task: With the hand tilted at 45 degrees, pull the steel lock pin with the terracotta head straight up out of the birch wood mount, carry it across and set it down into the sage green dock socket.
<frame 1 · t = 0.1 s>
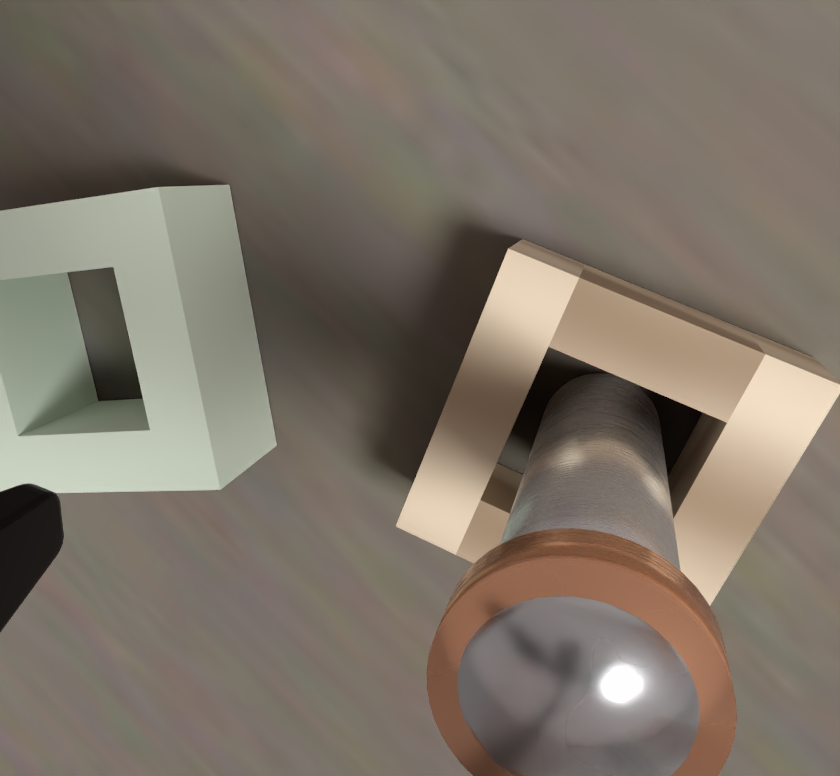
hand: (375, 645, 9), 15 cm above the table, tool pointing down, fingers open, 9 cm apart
dock socket: (141, 330, 27), on the table
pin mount: (599, 428, 23), on the table
lock pin: (591, 517, 17), in the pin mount
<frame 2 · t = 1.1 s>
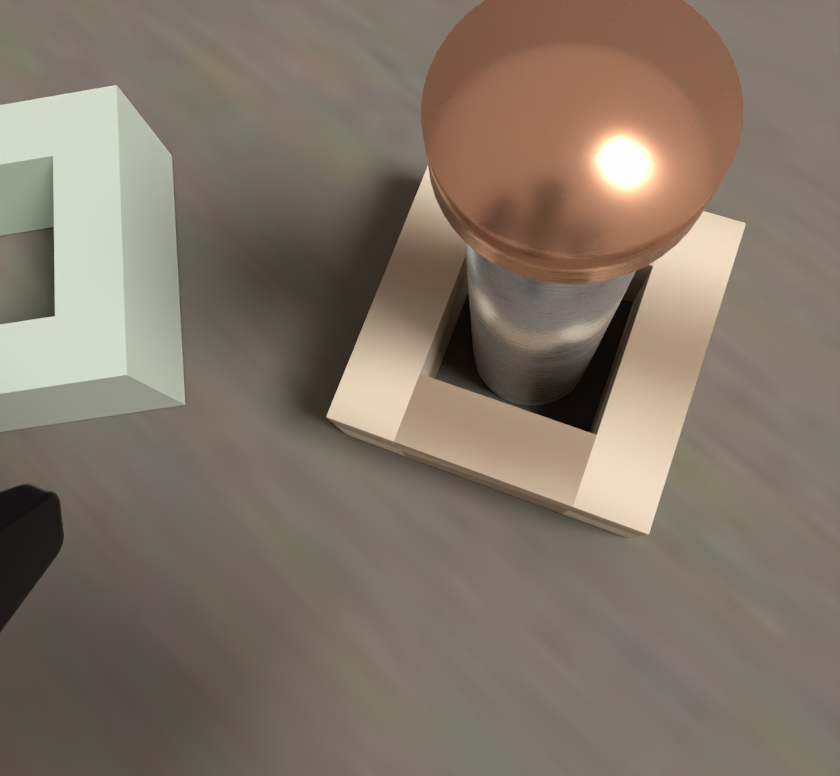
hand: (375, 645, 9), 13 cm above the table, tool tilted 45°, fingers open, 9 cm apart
dock socket: (49, 295, 25), on the table
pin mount: (530, 349, 23), on the table
lock pin: (546, 272, 17), in the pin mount
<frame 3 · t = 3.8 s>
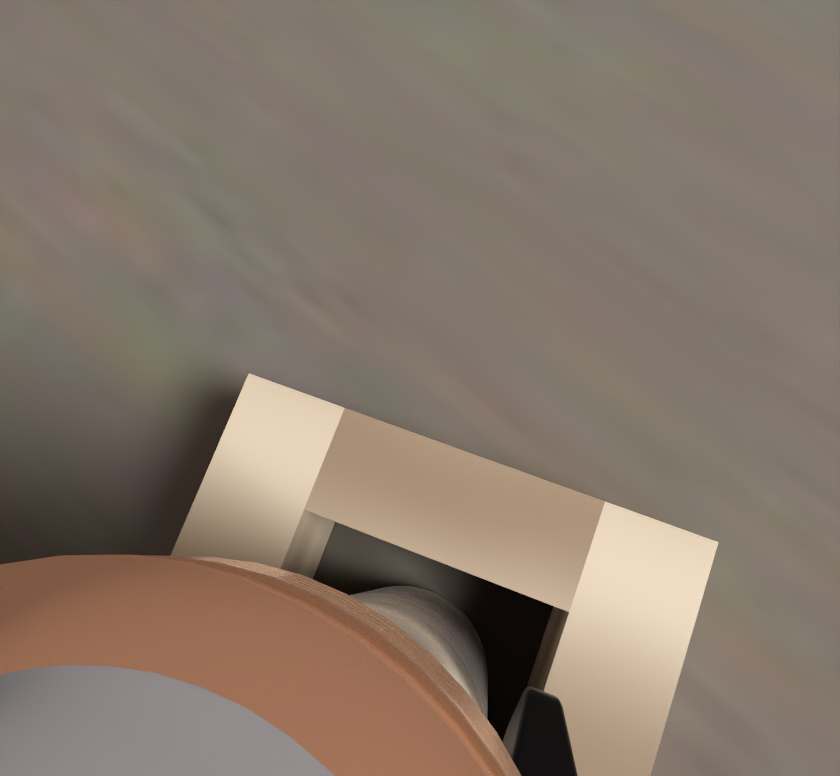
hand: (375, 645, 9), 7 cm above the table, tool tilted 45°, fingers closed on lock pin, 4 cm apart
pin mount: (401, 674, 16), on the table
lock pin: (342, 749, 9), in the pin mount, touching gripper
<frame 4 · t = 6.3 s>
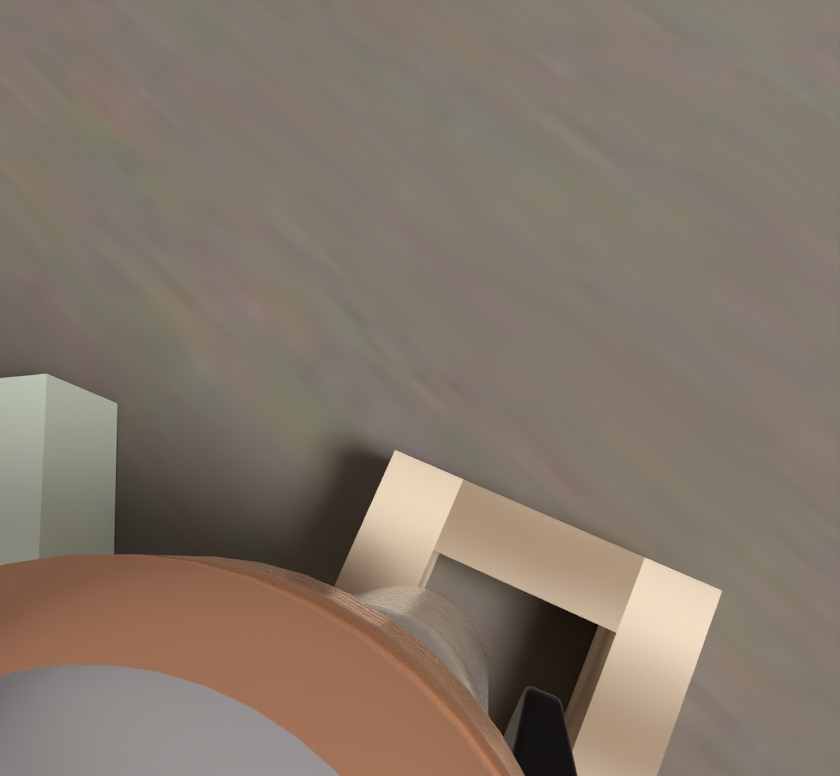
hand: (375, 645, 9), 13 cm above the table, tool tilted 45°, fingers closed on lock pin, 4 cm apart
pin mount: (485, 668, 22), on the table
lock pin: (343, 748, 9), point 13 cm above the table, touching gripper
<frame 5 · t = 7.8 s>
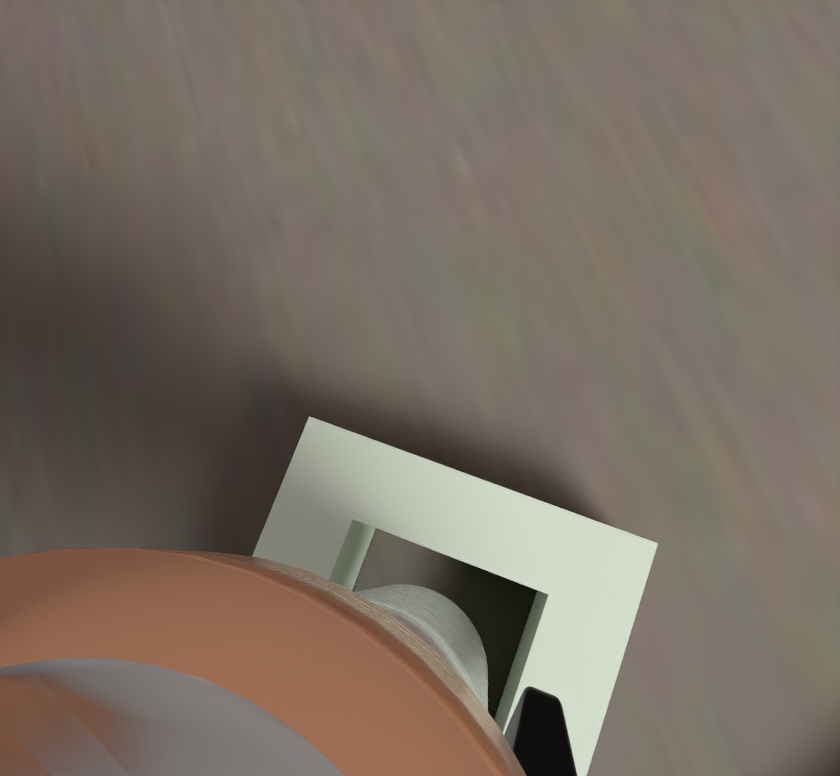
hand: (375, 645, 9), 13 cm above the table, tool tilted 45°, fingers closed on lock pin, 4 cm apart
dock socket: (425, 640, 21), on the table
lock pin: (343, 746, 9), point 12 cm above the table, touching gripper
when the fingers open (9 cm above the table, at t = 8.9 s): lock pin drops 2 cm, resting in dock socket.
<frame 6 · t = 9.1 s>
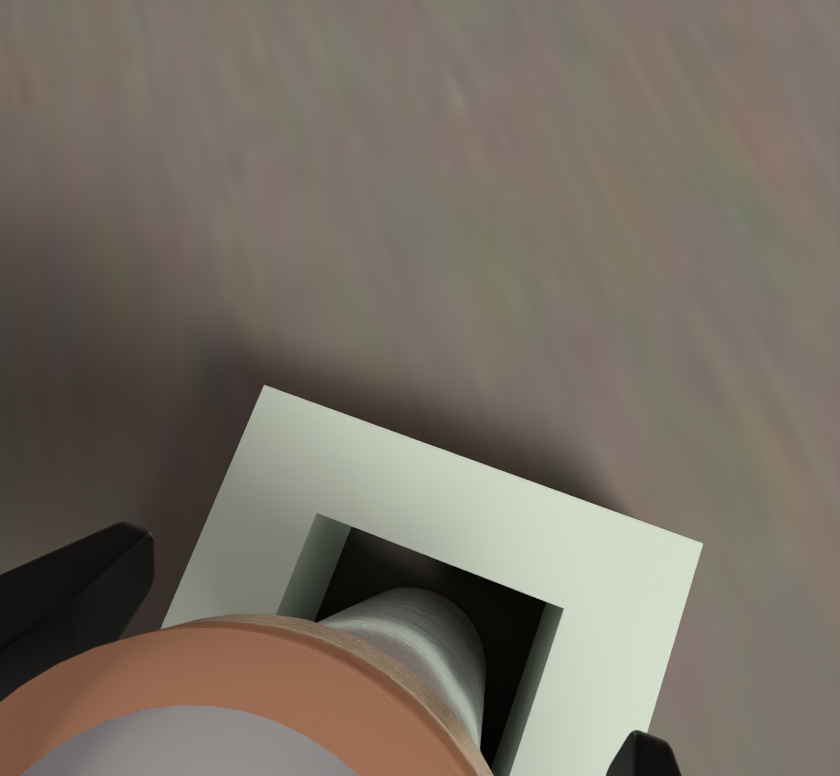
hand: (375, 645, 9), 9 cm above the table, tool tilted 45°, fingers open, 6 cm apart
dock socket: (411, 662, 18), on the table
lock pin: (359, 739, 11), in the dock socket
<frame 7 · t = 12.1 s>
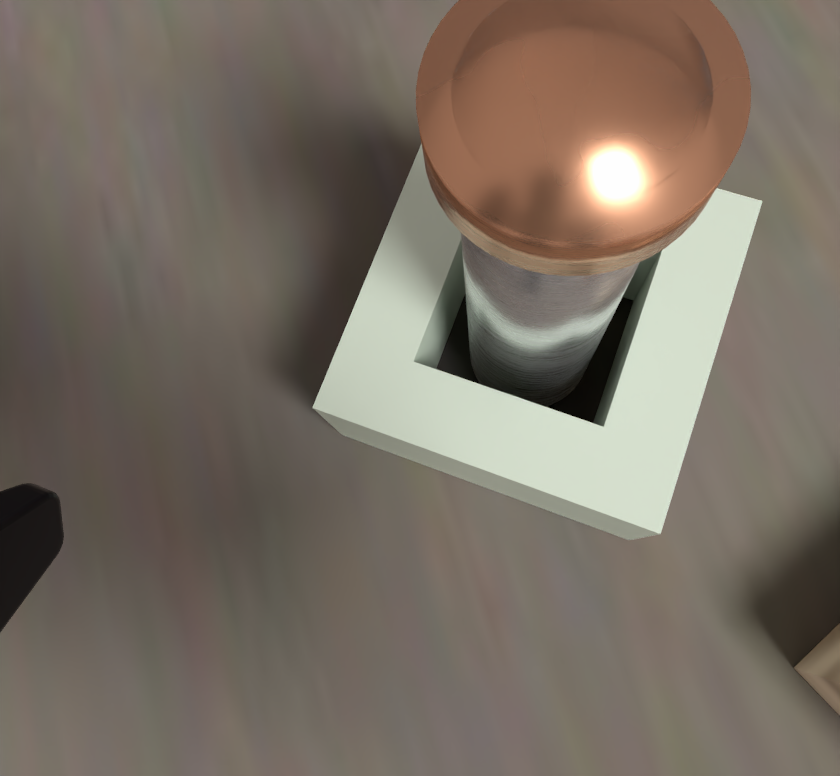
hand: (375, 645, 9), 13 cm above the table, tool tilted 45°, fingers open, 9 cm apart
dock socket: (530, 348, 23), on the table
lock pin: (544, 269, 17), in the dock socket
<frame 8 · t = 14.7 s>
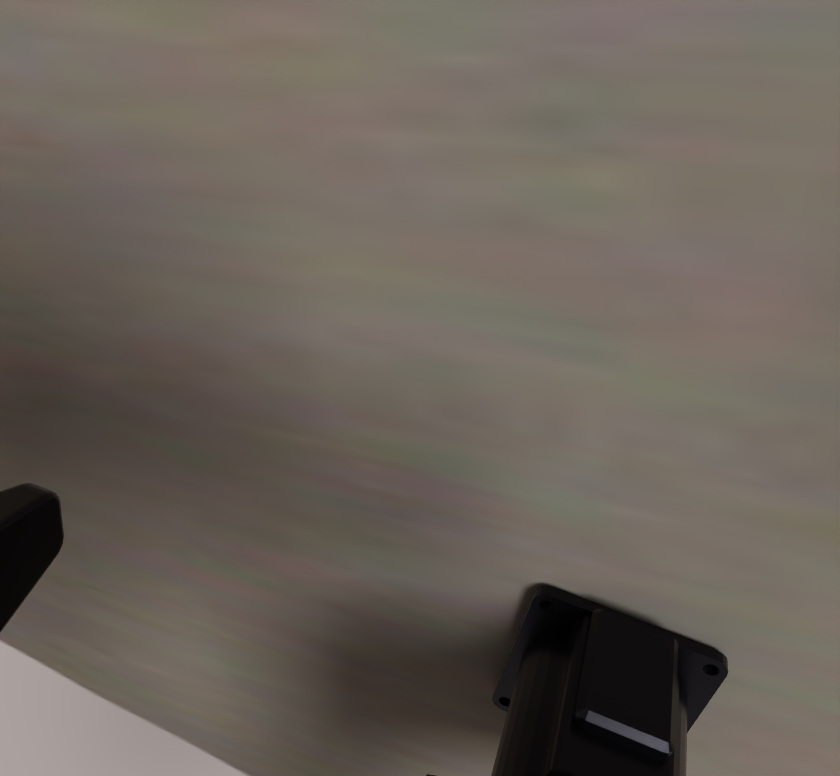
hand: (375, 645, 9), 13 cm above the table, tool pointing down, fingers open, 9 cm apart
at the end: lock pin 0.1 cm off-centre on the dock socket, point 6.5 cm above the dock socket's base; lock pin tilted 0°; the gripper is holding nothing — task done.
